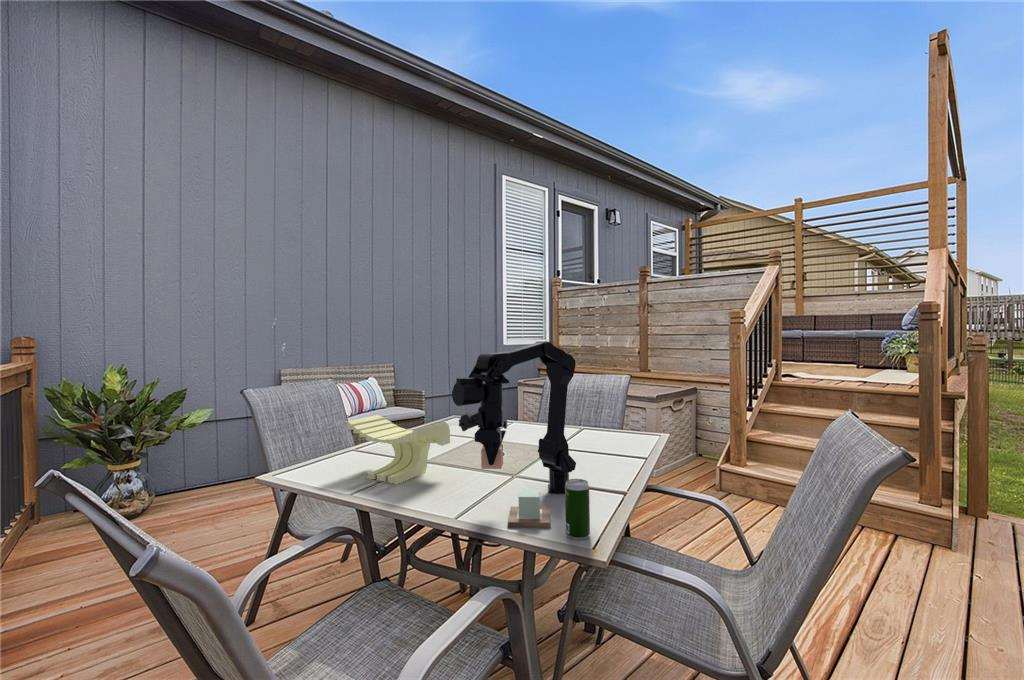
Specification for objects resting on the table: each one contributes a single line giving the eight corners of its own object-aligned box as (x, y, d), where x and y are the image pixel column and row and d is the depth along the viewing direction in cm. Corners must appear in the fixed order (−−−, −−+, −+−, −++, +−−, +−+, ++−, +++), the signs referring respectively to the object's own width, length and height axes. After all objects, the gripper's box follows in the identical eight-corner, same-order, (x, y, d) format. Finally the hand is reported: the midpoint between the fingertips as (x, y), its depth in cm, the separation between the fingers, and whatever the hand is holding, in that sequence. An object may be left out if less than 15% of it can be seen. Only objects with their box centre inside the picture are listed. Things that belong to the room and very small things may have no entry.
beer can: (573, 542, 99) (572, 487, 99) (561, 533, 104) (560, 480, 104) (594, 538, 101) (594, 483, 101) (581, 529, 106) (581, 477, 106)
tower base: (510, 511, 117) (510, 506, 117) (549, 511, 117) (549, 506, 117) (507, 527, 107) (507, 521, 107) (550, 527, 107) (550, 522, 107)
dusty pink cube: (484, 463, 121) (484, 444, 121) (503, 463, 121) (502, 444, 121) (481, 468, 116) (481, 449, 116) (500, 468, 116) (500, 449, 116)
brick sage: (539, 510, 114) (539, 490, 114) (539, 517, 109) (539, 497, 109) (519, 509, 115) (519, 489, 115) (518, 517, 110) (518, 496, 110)
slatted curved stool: (450, 474, 150) (449, 420, 150) (417, 488, 137) (416, 428, 137) (383, 463, 165) (383, 413, 165) (348, 474, 152) (347, 420, 151)
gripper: (467, 397, 129) (468, 452, 129) (453, 407, 110) (454, 472, 110) (507, 397, 128) (508, 453, 128) (499, 407, 109) (500, 472, 109)
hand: (492, 462), depth 119 cm, fingers closed on dusty pink cube, 5 cm apart
